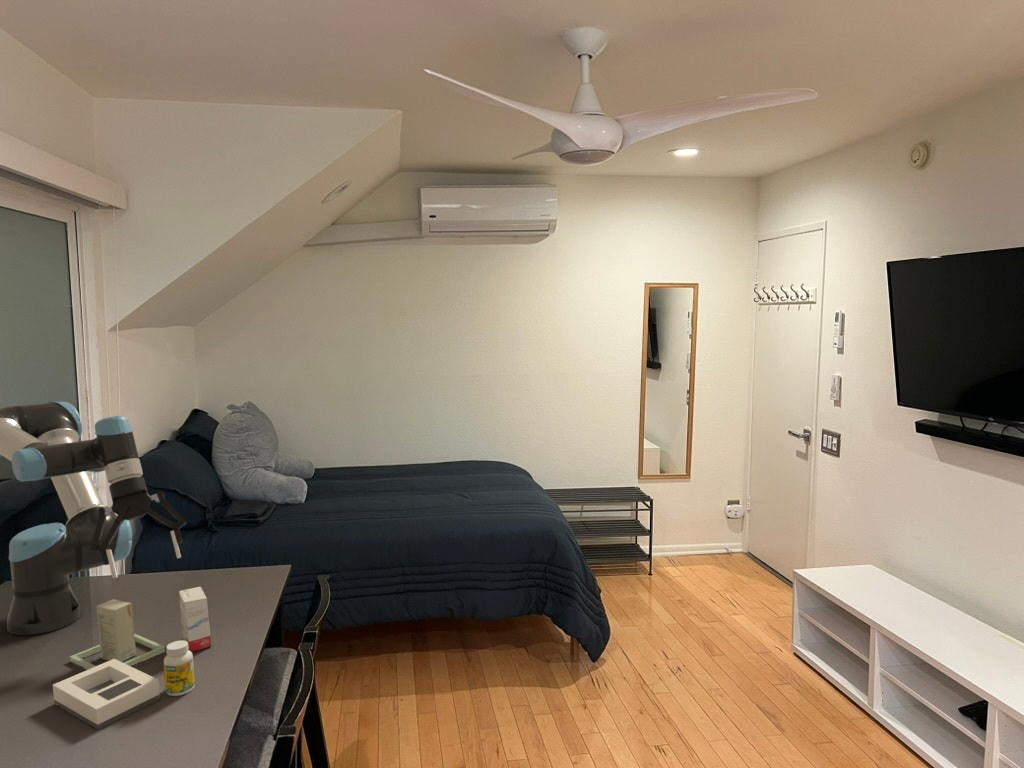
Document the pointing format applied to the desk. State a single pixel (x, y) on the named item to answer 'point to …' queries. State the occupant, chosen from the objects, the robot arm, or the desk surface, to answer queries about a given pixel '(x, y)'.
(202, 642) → the ink box
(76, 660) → the tray rim
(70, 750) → the desk surface
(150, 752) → the desk surface
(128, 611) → the skincare box
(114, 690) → the block
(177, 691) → the supplement bottle
